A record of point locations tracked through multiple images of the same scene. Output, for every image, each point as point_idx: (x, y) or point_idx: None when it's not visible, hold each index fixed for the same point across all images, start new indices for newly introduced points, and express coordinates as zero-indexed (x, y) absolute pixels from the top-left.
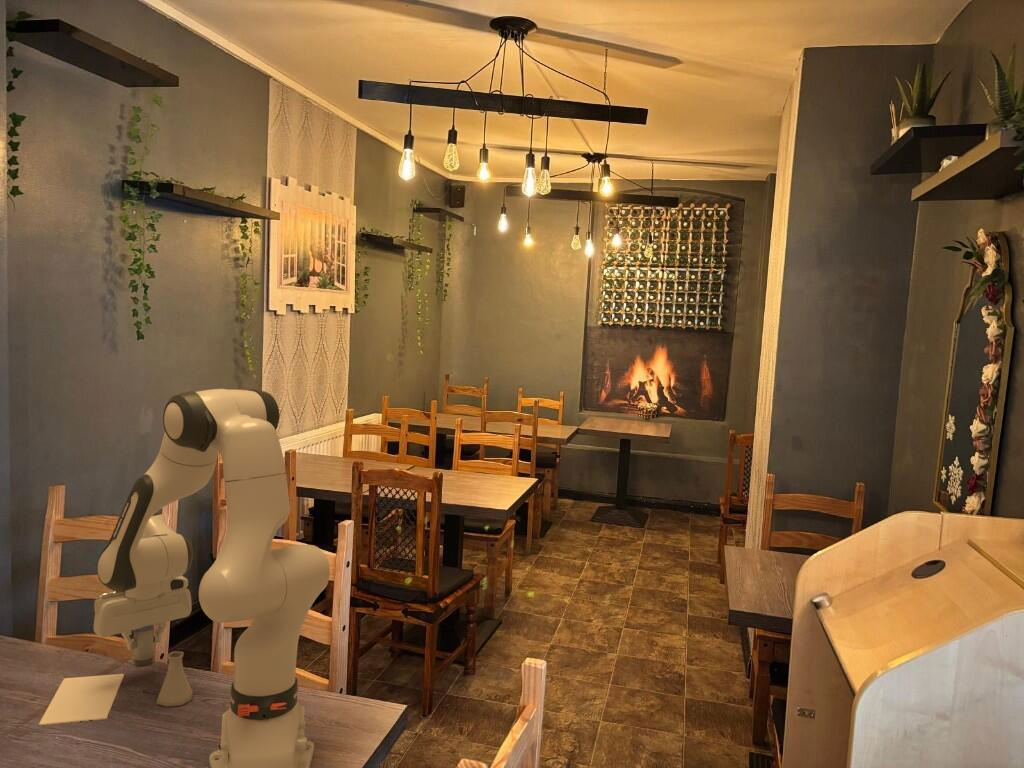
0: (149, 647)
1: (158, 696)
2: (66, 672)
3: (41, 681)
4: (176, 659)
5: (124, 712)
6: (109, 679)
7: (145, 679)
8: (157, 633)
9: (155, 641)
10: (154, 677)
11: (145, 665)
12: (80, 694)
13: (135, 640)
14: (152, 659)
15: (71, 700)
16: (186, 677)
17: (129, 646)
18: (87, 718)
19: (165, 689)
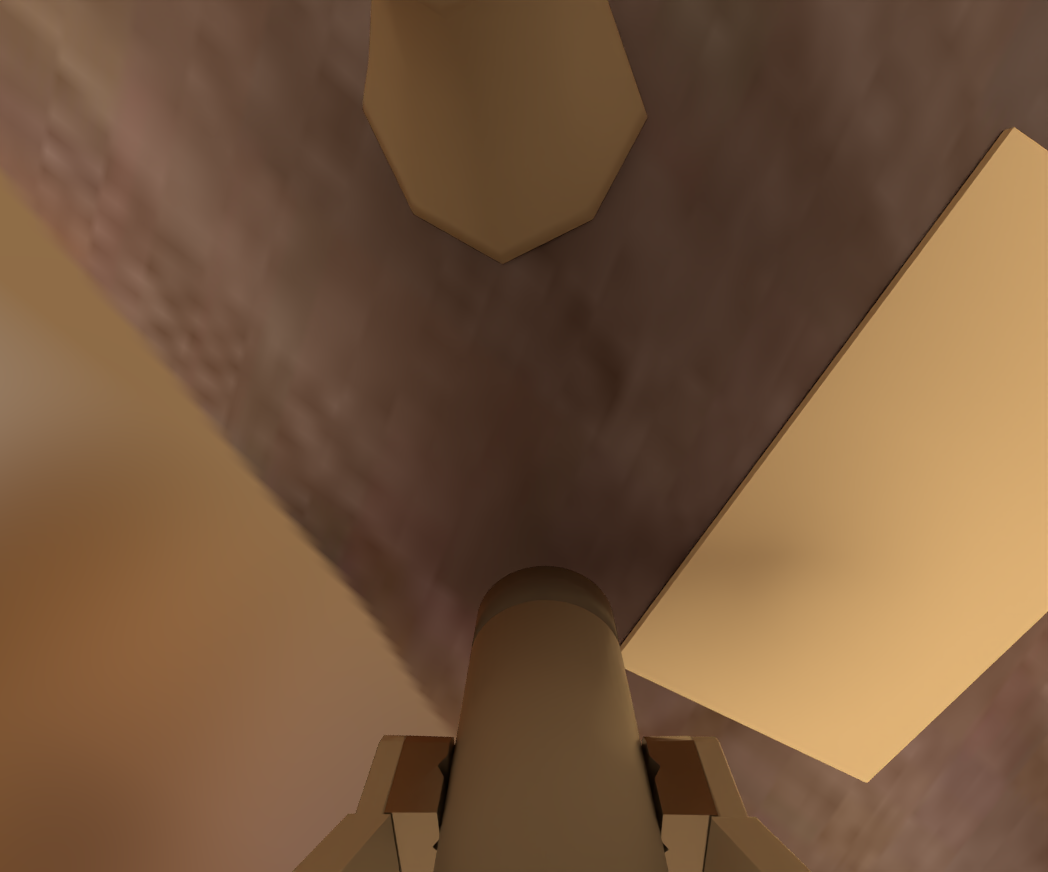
0: (525, 684)
1: (615, 159)
2: (810, 834)
3: (942, 816)
4: None
5: (861, 156)
6: (706, 646)
7: (541, 538)
8: (386, 851)
9: (438, 747)
10: (488, 530)
11: (559, 572)
12: (919, 569)
13: (665, 831)
14: (496, 603)
15: (996, 531)
16: (369, 45)
17: (726, 772)
18: None
19: (607, 21)
